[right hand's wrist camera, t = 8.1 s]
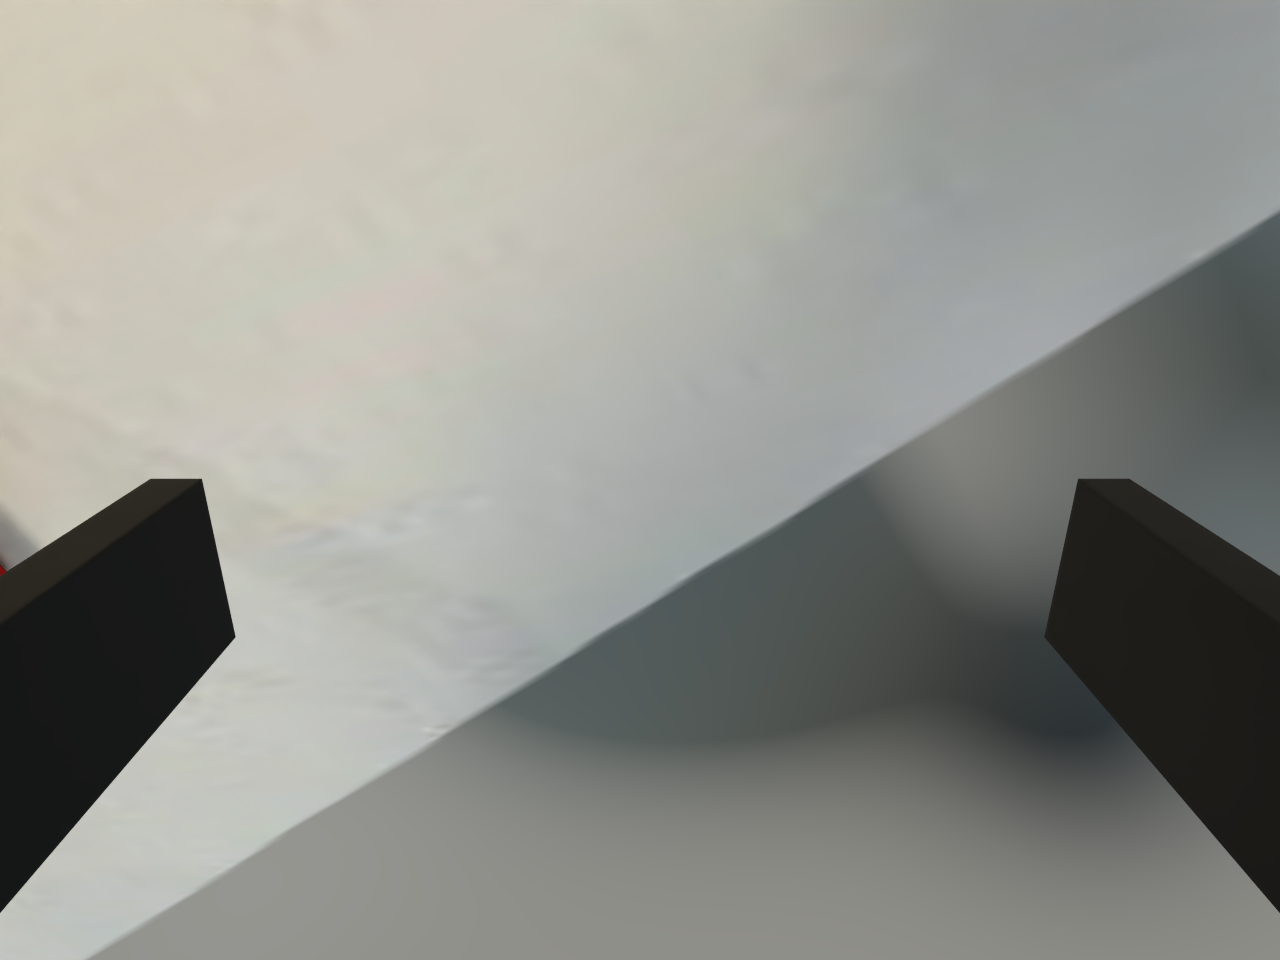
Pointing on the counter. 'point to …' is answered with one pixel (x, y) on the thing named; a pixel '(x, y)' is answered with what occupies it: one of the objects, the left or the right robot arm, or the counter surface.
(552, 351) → the counter surface
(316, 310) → the counter surface
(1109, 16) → the counter surface
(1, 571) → the toy
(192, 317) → the counter surface
